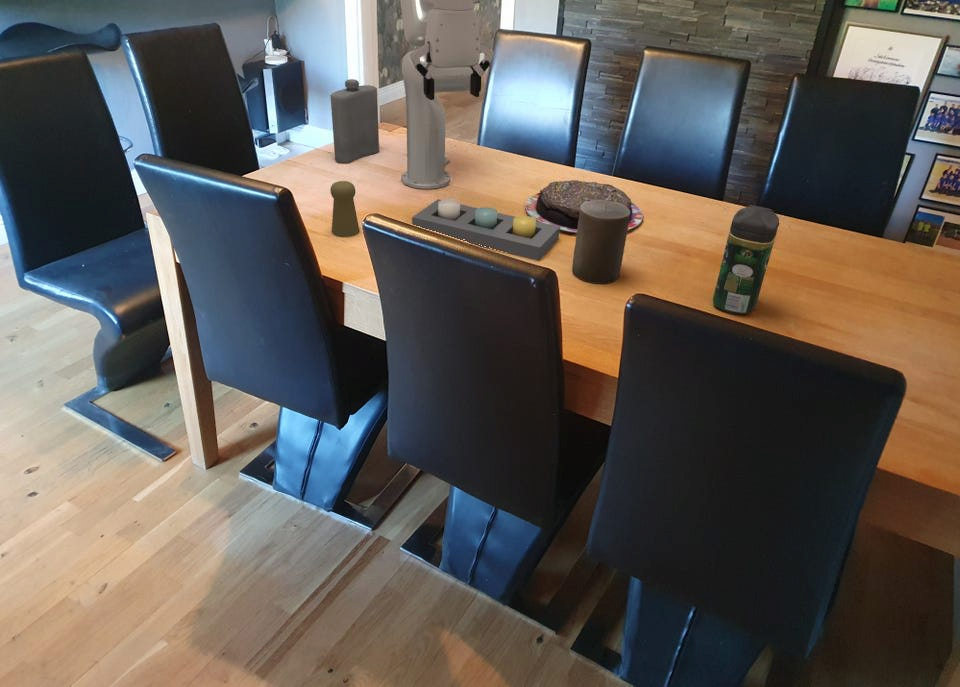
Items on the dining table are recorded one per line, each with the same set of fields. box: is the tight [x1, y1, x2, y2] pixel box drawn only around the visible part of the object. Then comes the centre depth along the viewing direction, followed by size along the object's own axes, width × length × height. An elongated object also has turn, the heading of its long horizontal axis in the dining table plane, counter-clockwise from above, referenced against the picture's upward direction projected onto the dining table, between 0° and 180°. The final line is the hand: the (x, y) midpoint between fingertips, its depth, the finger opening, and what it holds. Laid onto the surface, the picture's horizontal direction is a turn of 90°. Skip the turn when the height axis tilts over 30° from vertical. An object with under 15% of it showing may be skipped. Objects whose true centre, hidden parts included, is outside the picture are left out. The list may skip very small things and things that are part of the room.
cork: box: [329, 180, 361, 238], centre depth 152 cm, size 6×6×11 cm
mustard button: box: [512, 215, 536, 239], centre depth 151 cm, size 5×5×3 cm
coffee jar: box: [712, 204, 781, 315], centre depth 130 cm, size 10×8×19 cm
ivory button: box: [438, 198, 461, 221], centre depth 158 cm, size 5×5×3 cm
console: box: [411, 198, 561, 261], centre depth 156 cm, size 12×30×3 cm, turn 65°
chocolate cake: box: [524, 179, 644, 236], centre depth 168 cm, size 28×28×7 cm
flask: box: [329, 78, 380, 165], centre depth 191 cm, size 15×6×20 cm, turn 144°
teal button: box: [475, 206, 498, 230], centre depth 155 cm, size 5×5×3 cm
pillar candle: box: [571, 200, 630, 284], centre depth 140 cm, size 10×10×15 cm
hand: (452, 97), depth 142 cm, fingers open, 9 cm apart
